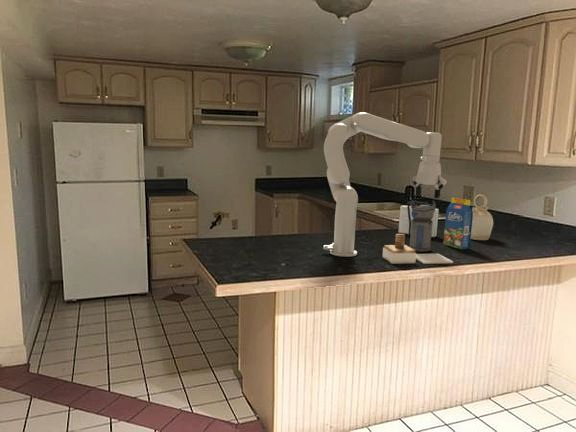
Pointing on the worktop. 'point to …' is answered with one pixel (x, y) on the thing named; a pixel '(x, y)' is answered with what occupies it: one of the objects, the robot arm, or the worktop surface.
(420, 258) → the box
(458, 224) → the blue food package
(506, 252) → the worktop surface
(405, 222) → the skincare box
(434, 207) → the beverage bottle
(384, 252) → the dish
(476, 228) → the jug
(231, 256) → the worktop surface
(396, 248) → the lid
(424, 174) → the robot arm
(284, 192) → the worktop surface
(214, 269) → the worktop surface
